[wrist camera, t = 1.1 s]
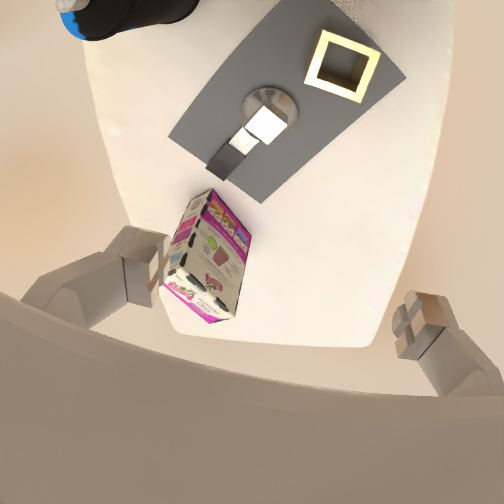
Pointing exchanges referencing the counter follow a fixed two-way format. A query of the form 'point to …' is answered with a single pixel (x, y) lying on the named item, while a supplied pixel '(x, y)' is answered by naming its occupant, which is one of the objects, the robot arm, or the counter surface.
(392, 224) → the counter surface
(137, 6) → the aerosol can
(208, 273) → the candy bar box
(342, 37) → the brass square frame
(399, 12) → the counter surface
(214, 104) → the mat
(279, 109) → the ratchet
